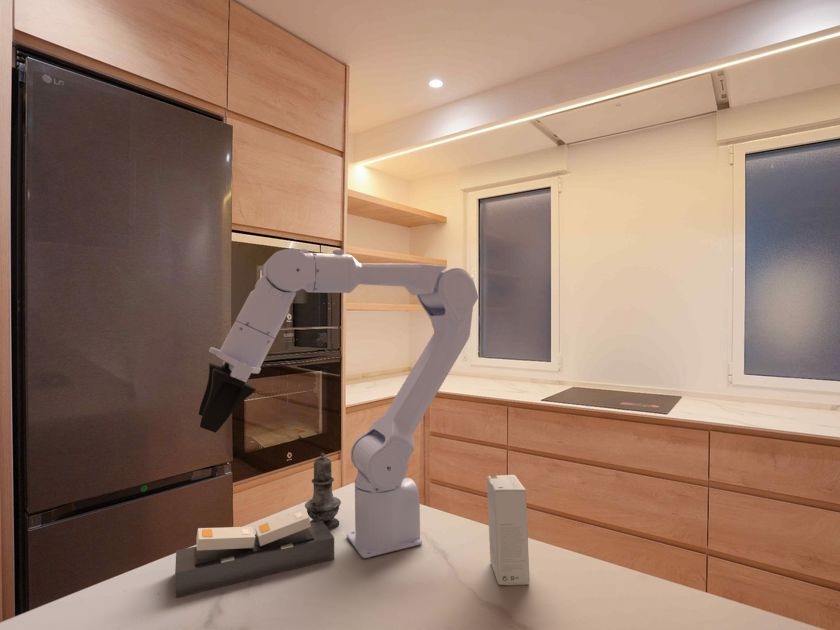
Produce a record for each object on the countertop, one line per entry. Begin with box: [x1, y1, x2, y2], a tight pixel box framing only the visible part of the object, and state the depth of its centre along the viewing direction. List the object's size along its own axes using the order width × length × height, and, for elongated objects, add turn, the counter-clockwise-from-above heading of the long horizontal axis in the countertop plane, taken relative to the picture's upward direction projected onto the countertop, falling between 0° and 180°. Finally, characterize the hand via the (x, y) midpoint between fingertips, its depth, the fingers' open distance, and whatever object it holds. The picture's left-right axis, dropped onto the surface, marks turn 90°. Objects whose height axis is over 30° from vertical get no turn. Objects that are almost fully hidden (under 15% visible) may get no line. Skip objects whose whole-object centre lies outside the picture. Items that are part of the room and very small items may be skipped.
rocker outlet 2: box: [254, 507, 311, 546], centre depth 67 cm, size 7×4×2 cm, turn 117°
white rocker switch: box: [195, 526, 256, 551], centre depth 63 cm, size 7×4×2 cm, turn 116°
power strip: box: [174, 521, 335, 599], centre depth 65 cm, size 20×6×3 cm, turn 116°
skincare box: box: [486, 474, 530, 586], centre depth 63 cm, size 6×4×12 cm
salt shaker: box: [304, 452, 342, 532], centre depth 78 cm, size 6×6×12 cm
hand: (206, 422), depth 62 cm, fingers open, 7 cm apart
